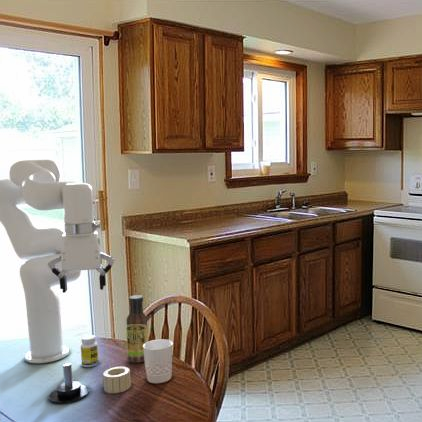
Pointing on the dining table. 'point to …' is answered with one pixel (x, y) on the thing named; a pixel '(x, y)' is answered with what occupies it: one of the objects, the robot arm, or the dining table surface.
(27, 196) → the robot arm
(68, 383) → the tape stand
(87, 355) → the supplement bottle
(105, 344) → the dining table surface
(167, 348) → the white cup
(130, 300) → the sauce bottle
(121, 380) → the tape roll
